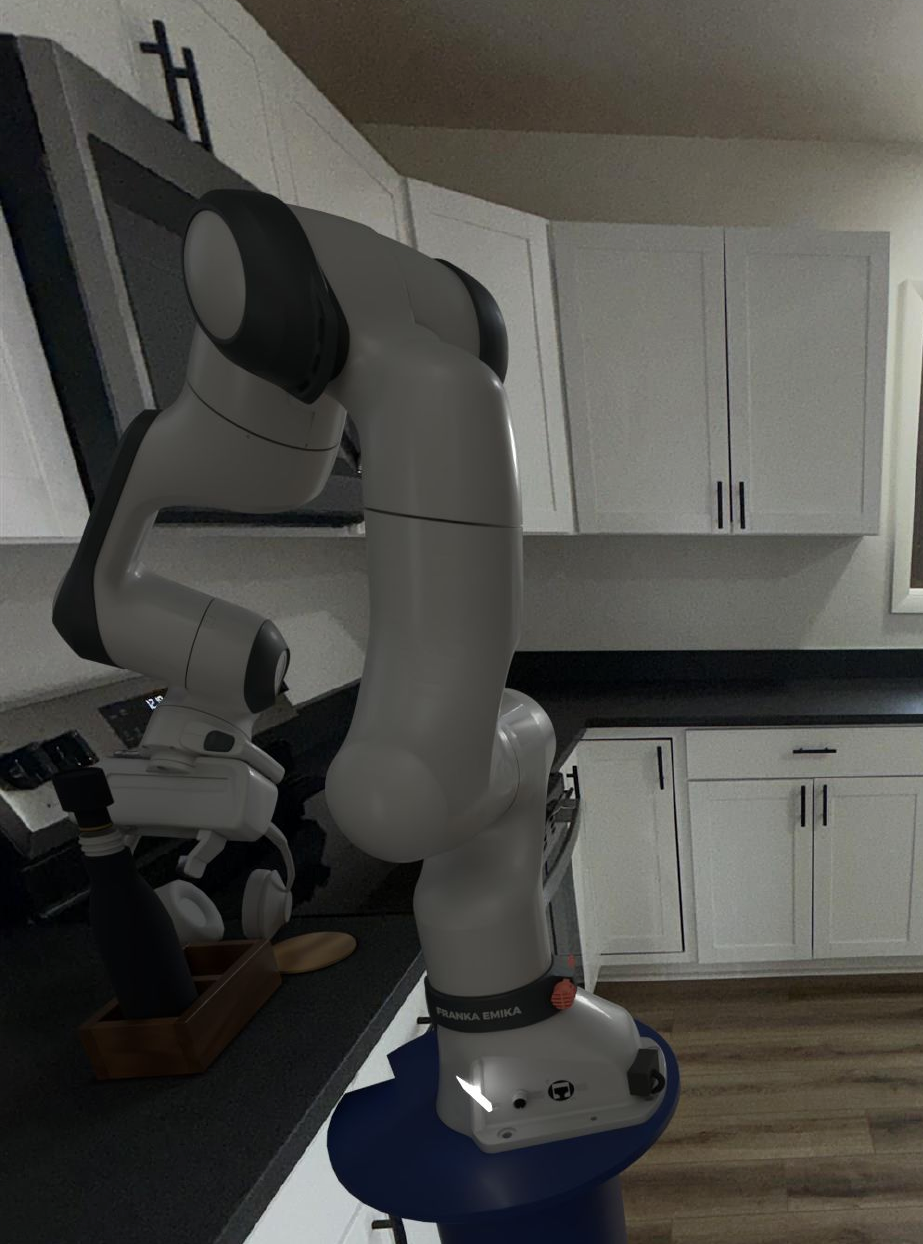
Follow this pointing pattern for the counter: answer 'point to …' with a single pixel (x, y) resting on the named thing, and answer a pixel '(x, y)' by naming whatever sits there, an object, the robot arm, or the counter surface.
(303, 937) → the coaster
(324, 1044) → the counter surface
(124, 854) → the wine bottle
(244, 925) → the headphones
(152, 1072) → the wooden compartment tray
